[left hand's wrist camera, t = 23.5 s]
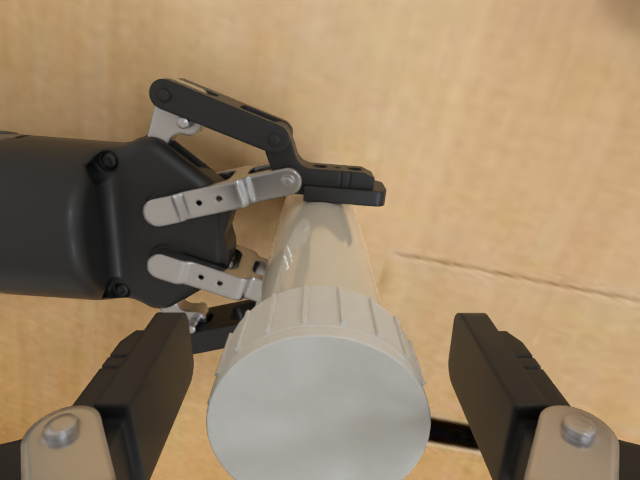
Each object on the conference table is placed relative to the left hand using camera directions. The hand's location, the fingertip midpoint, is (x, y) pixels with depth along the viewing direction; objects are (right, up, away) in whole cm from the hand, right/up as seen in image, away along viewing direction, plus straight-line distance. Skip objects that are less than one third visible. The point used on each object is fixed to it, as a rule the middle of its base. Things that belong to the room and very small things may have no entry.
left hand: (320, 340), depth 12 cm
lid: (0, -1, -2) cm, 3 cm away
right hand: (+3, +3, +9) cm, 10 cm away
